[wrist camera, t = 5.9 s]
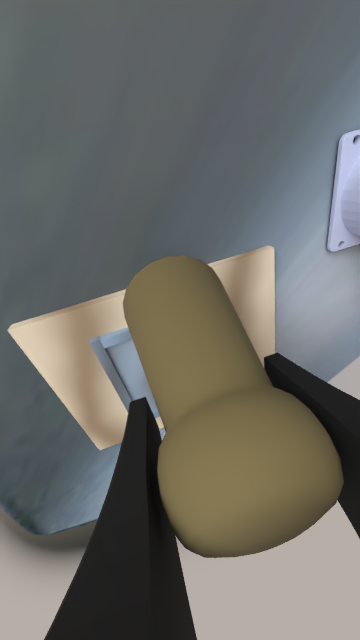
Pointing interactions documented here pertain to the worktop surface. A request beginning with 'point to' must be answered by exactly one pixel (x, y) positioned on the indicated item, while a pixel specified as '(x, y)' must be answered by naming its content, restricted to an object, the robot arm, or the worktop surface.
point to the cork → (224, 420)
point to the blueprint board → (131, 346)
